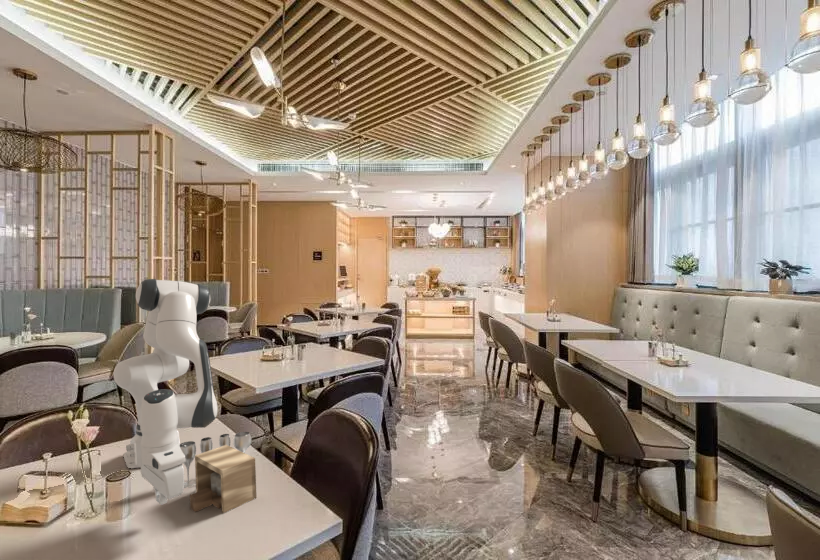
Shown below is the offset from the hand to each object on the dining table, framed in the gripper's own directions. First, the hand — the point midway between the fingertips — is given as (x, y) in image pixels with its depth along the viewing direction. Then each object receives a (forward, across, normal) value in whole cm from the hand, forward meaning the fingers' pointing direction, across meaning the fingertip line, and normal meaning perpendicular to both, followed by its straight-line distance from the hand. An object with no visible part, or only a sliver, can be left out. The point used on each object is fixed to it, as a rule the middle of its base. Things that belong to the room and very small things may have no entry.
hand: (161, 502), depth 117 cm
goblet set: (+6, -15, +20) cm, 26 cm away
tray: (+6, 0, +14) cm, 15 cm away
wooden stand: (+6, +1, +18) cm, 18 cm away
